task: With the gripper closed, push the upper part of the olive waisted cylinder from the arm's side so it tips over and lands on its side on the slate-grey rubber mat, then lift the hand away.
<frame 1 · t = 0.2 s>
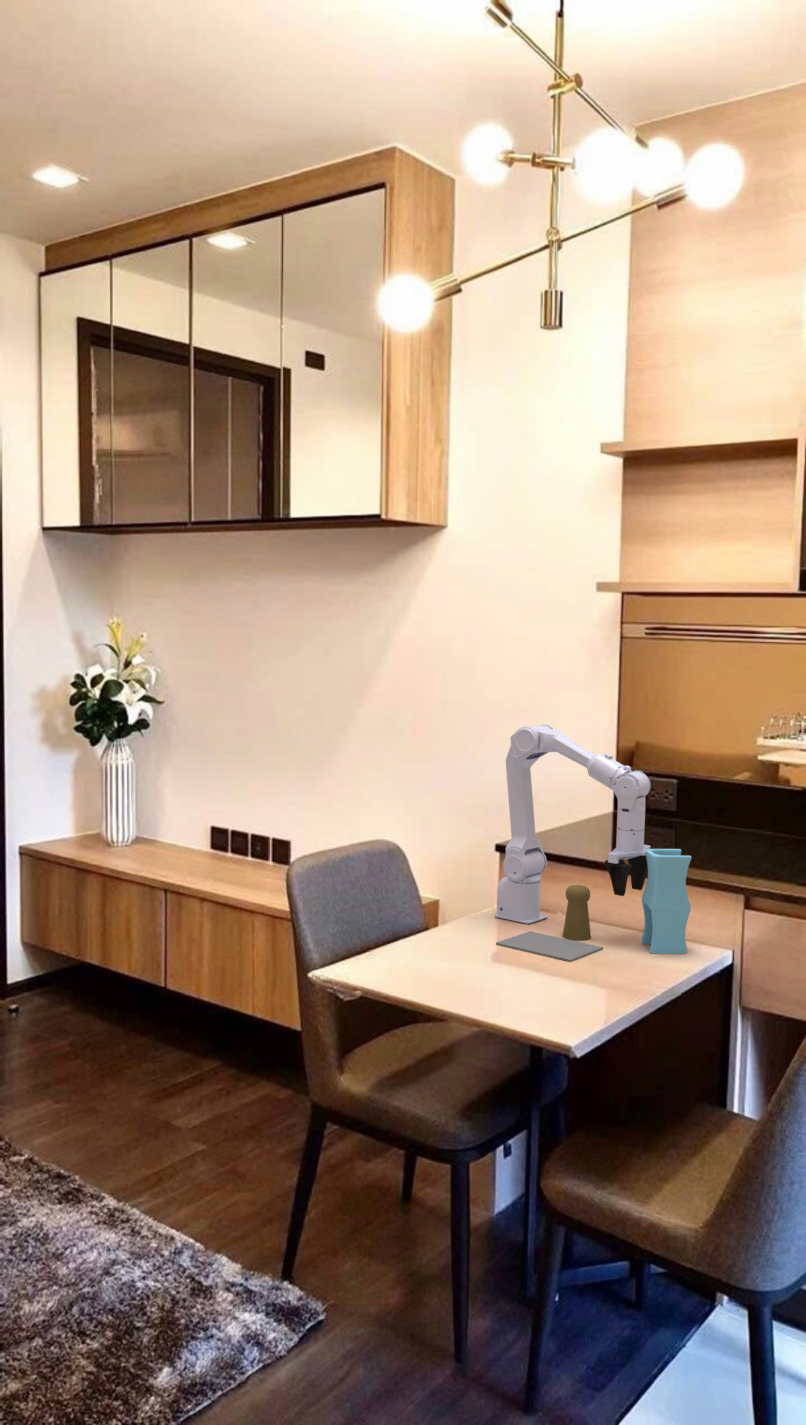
hand: (628, 892, 231), 10 cm above the table, fingers open, 7 cm apart
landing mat: (549, 946, 224), on the table
olive waisted cylinder: (576, 937, 232), on the table
vase: (664, 949, 225), on the table
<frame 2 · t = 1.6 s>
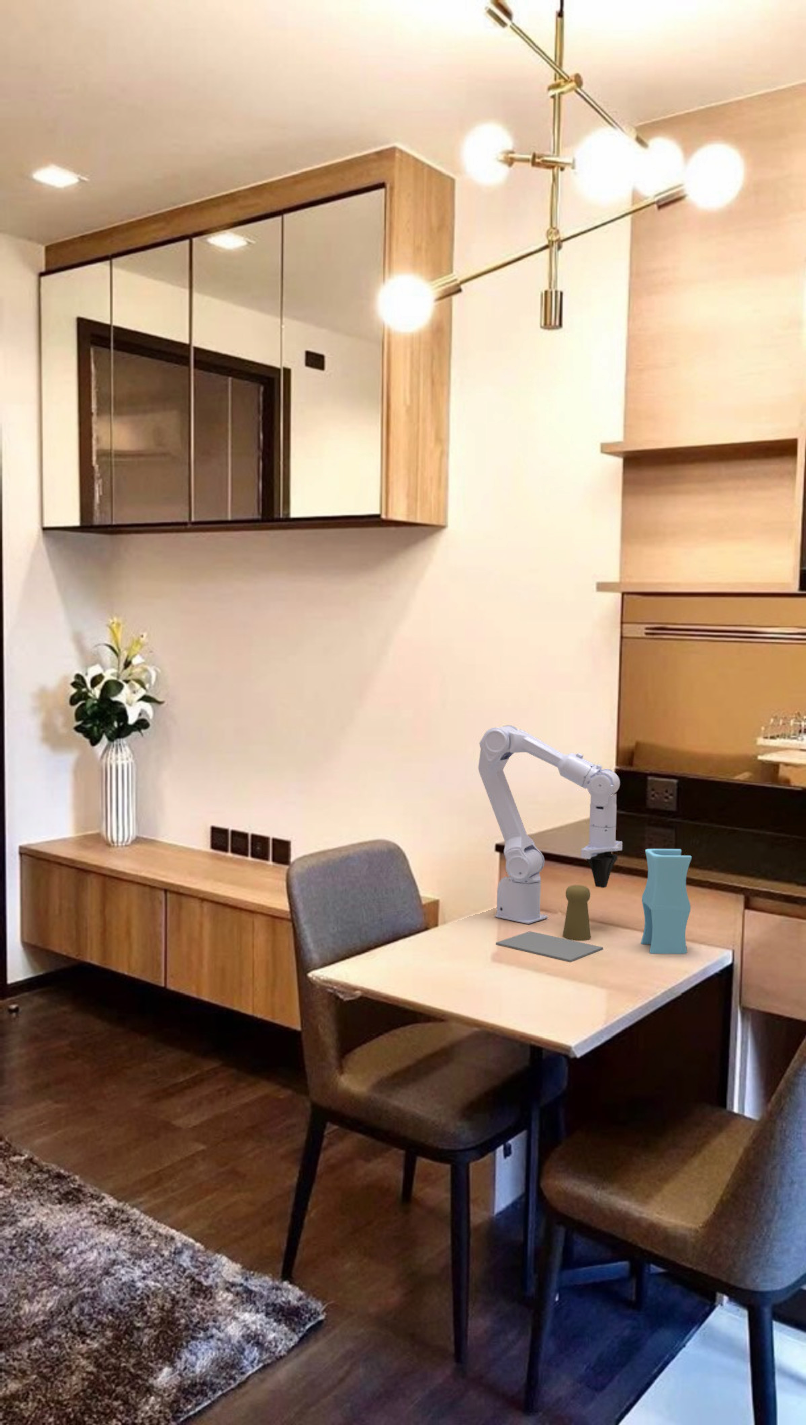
hand: (600, 886, 239), 9 cm above the table, fingers closed
nothing on the table moved.
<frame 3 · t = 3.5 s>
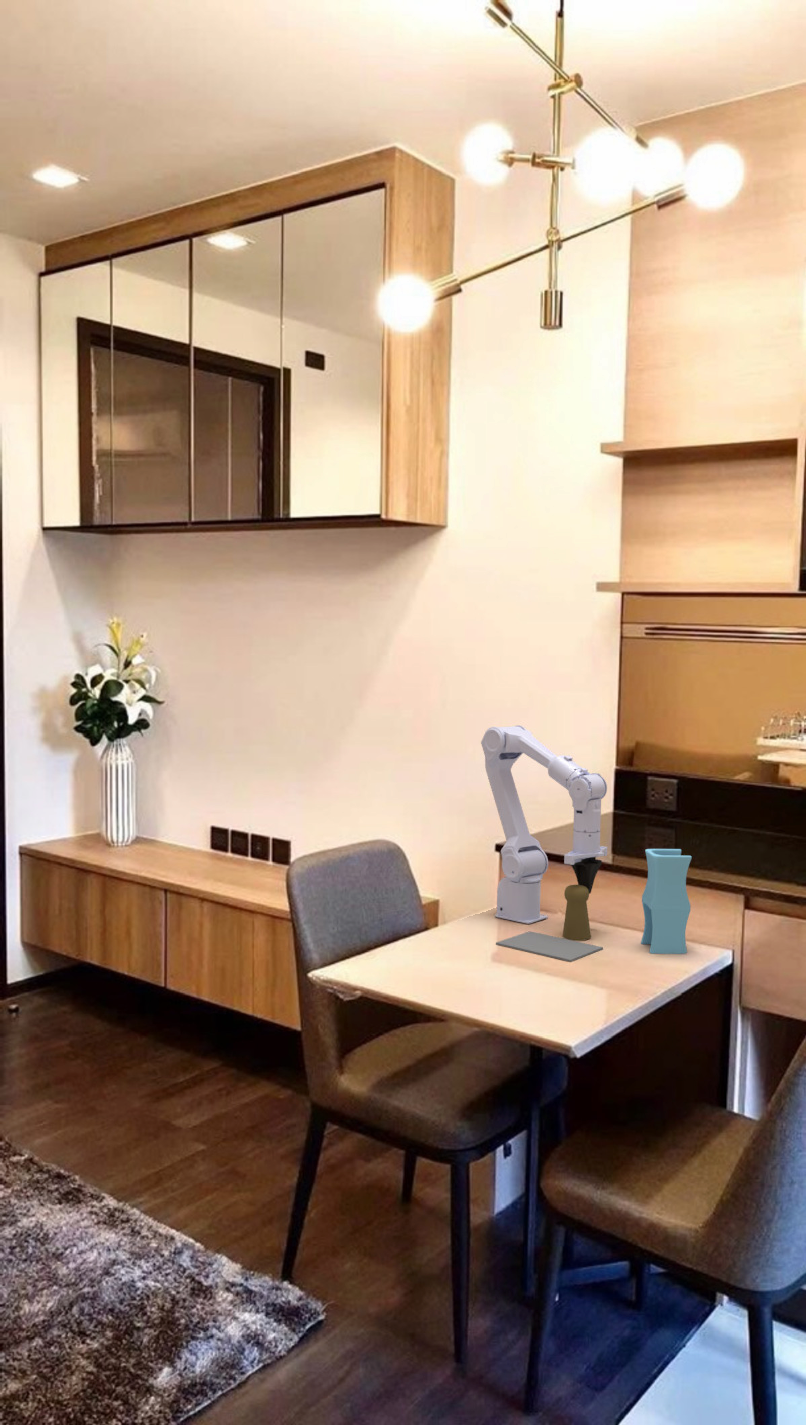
hand: (585, 893, 234), 9 cm above the table, fingers closed
olive waisted cylinder: (576, 937, 232), on the table, touching gripper
everything else where it was.
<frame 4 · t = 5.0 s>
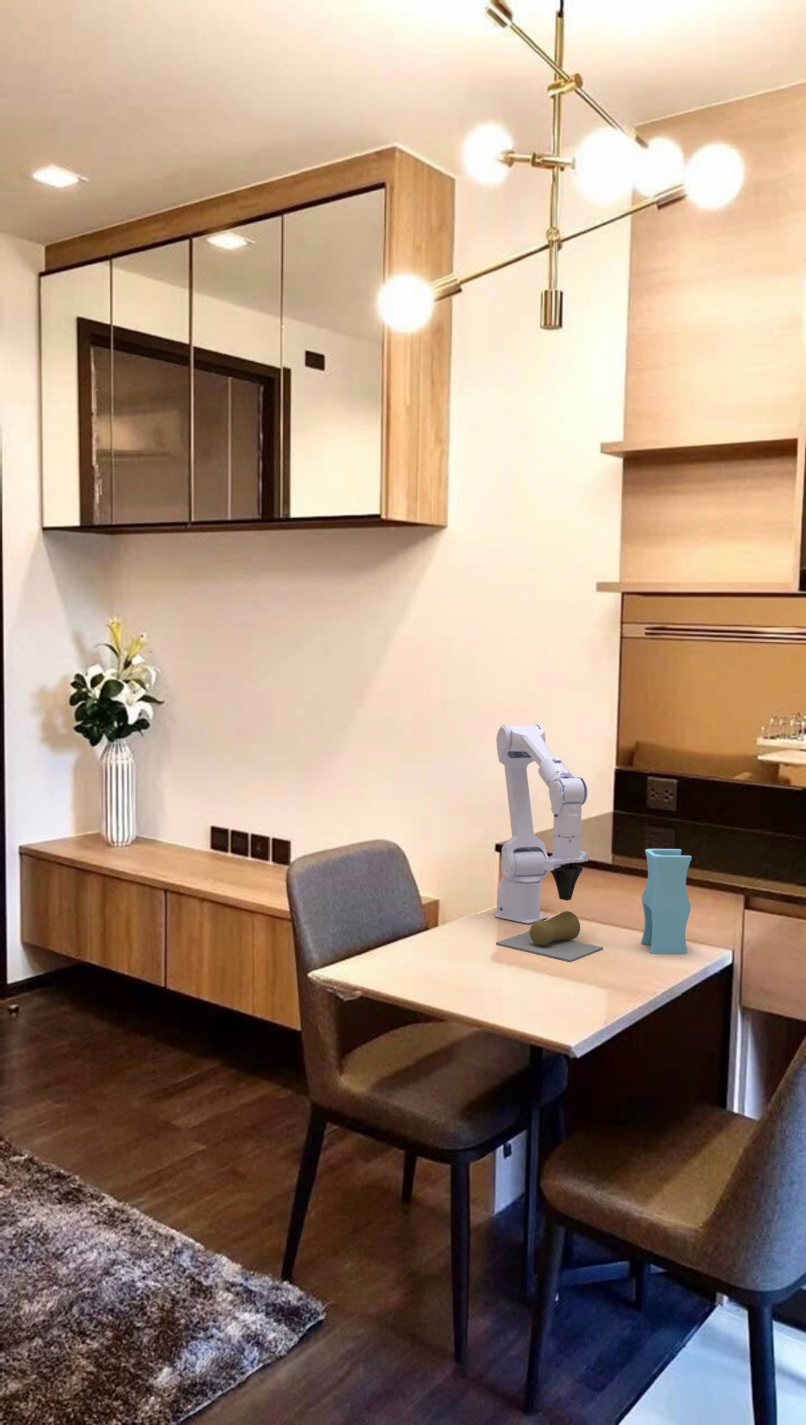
hand: (565, 899, 228), 9 cm above the table, fingers closed
olive waisted cylinder: (569, 925, 230), point 3 cm above the table, touching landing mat
everything else where it was.
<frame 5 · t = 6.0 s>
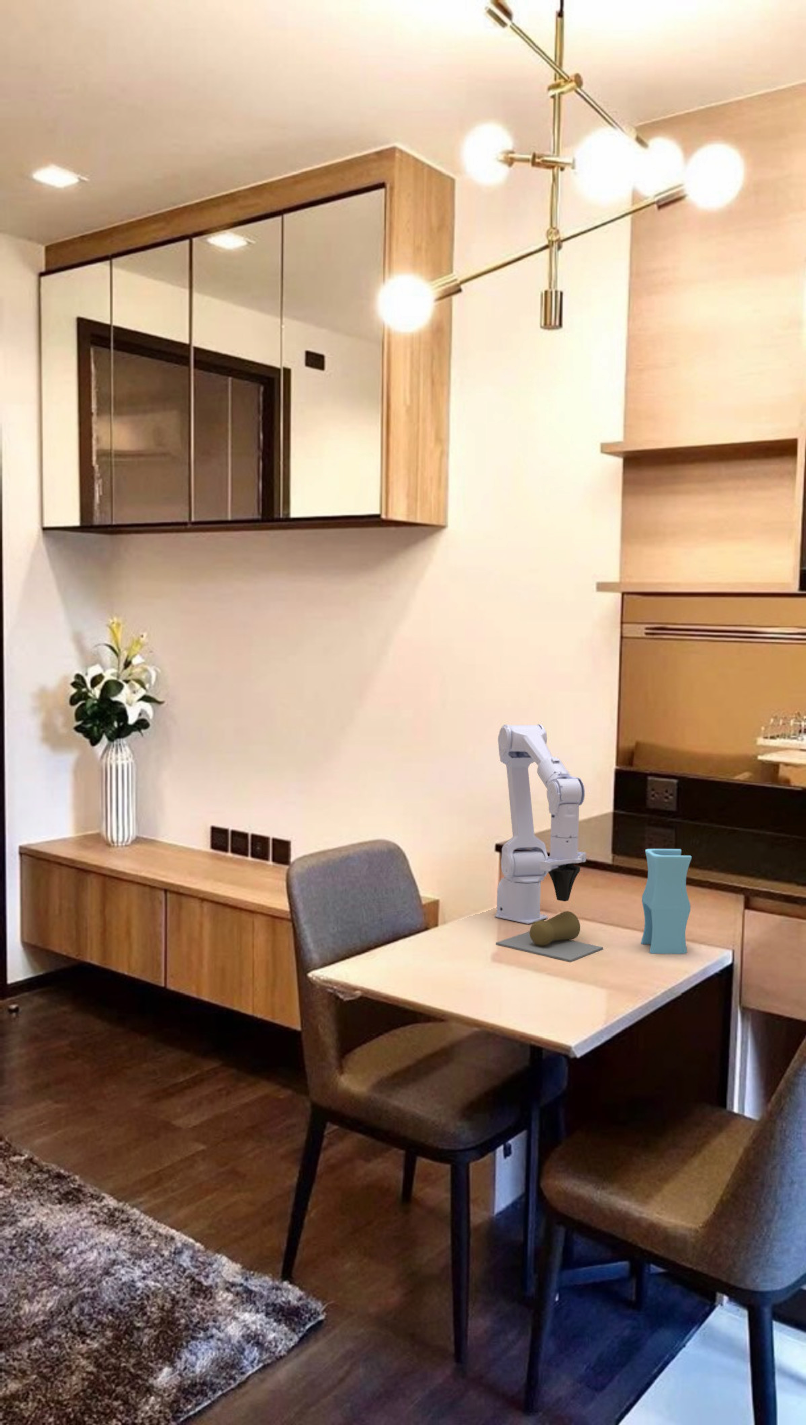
hand: (562, 900, 227), 9 cm above the table, fingers closed
nothing on the table moved.
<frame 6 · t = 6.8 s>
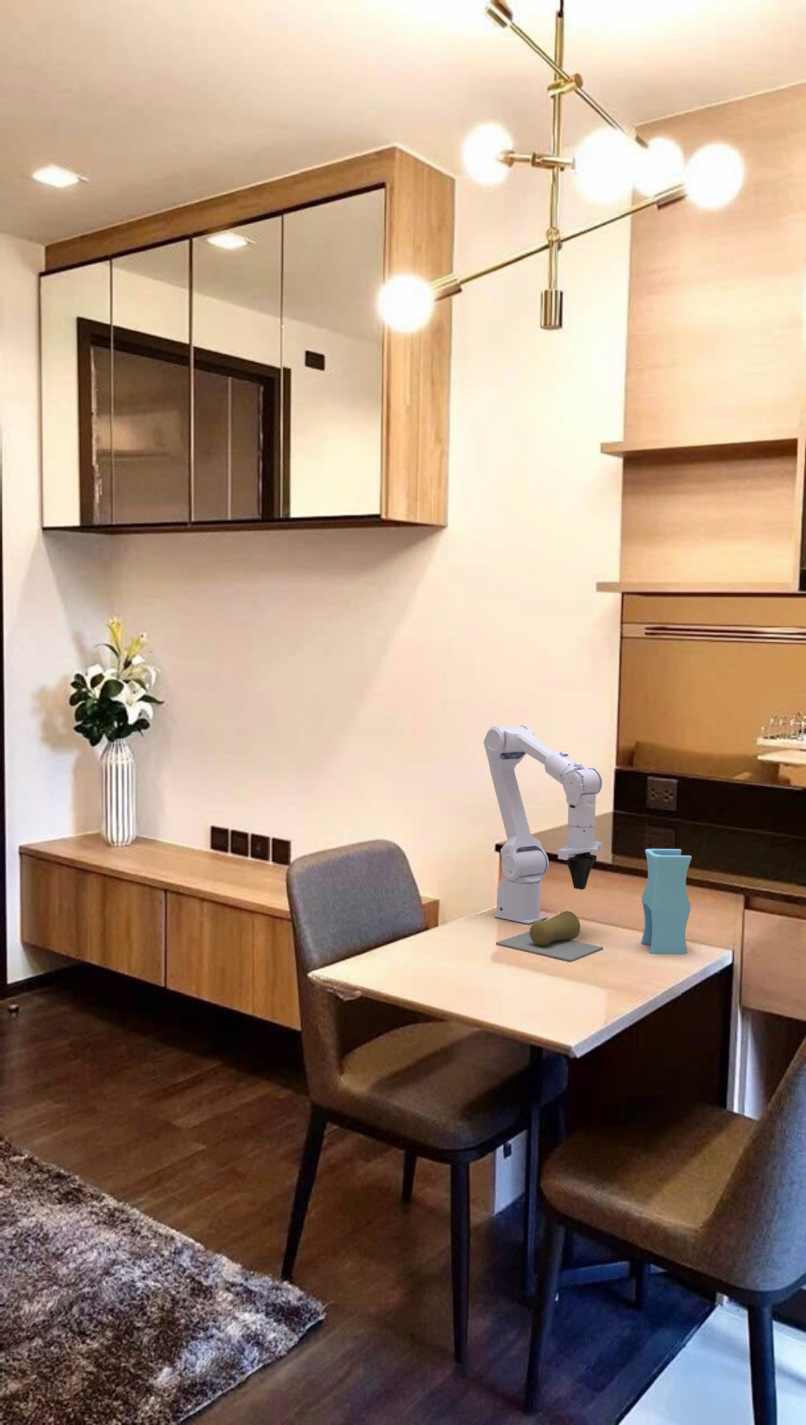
hand: (579, 888, 232), 10 cm above the table, fingers closed
nothing on the table moved.
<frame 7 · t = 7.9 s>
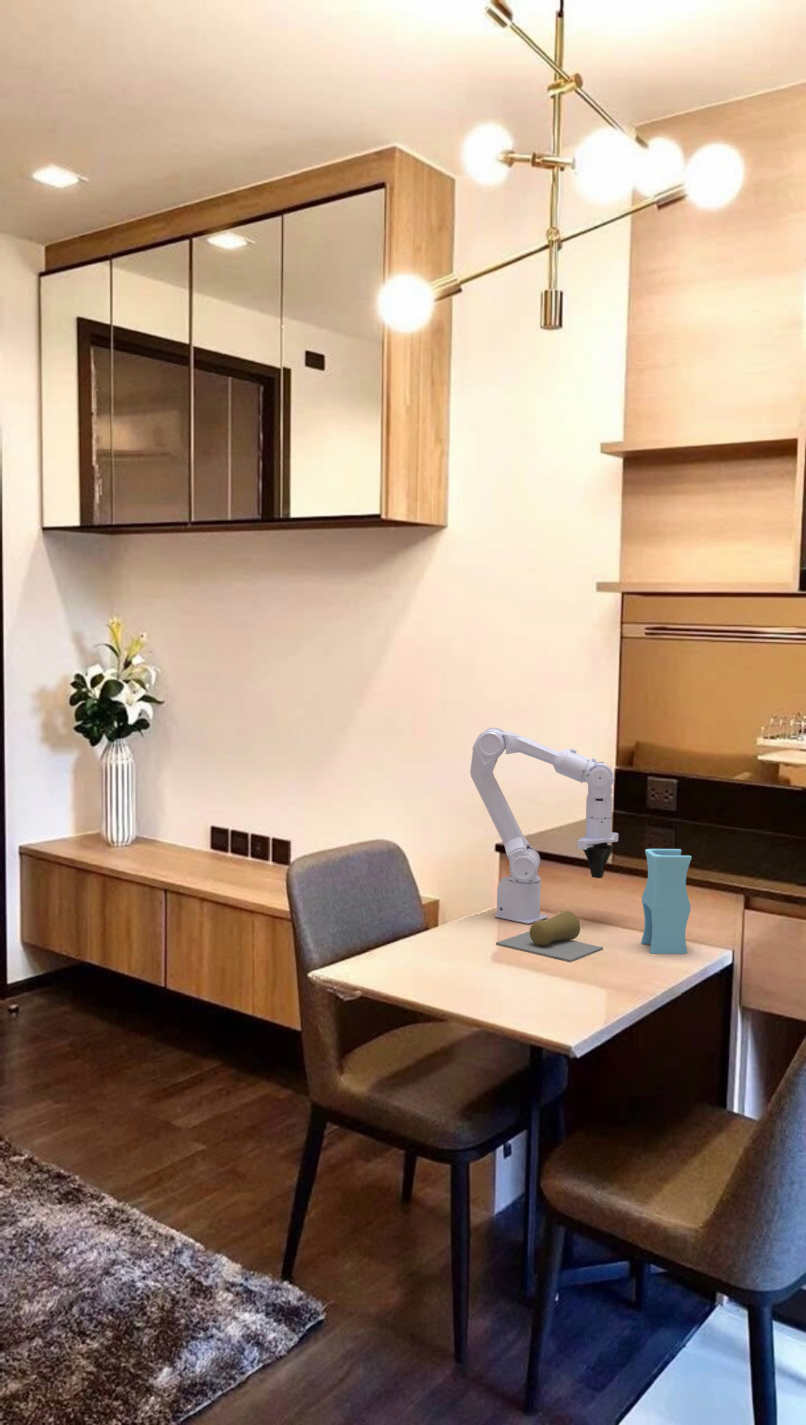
hand: (597, 877, 244), 10 cm above the table, fingers closed
nothing on the table moved.
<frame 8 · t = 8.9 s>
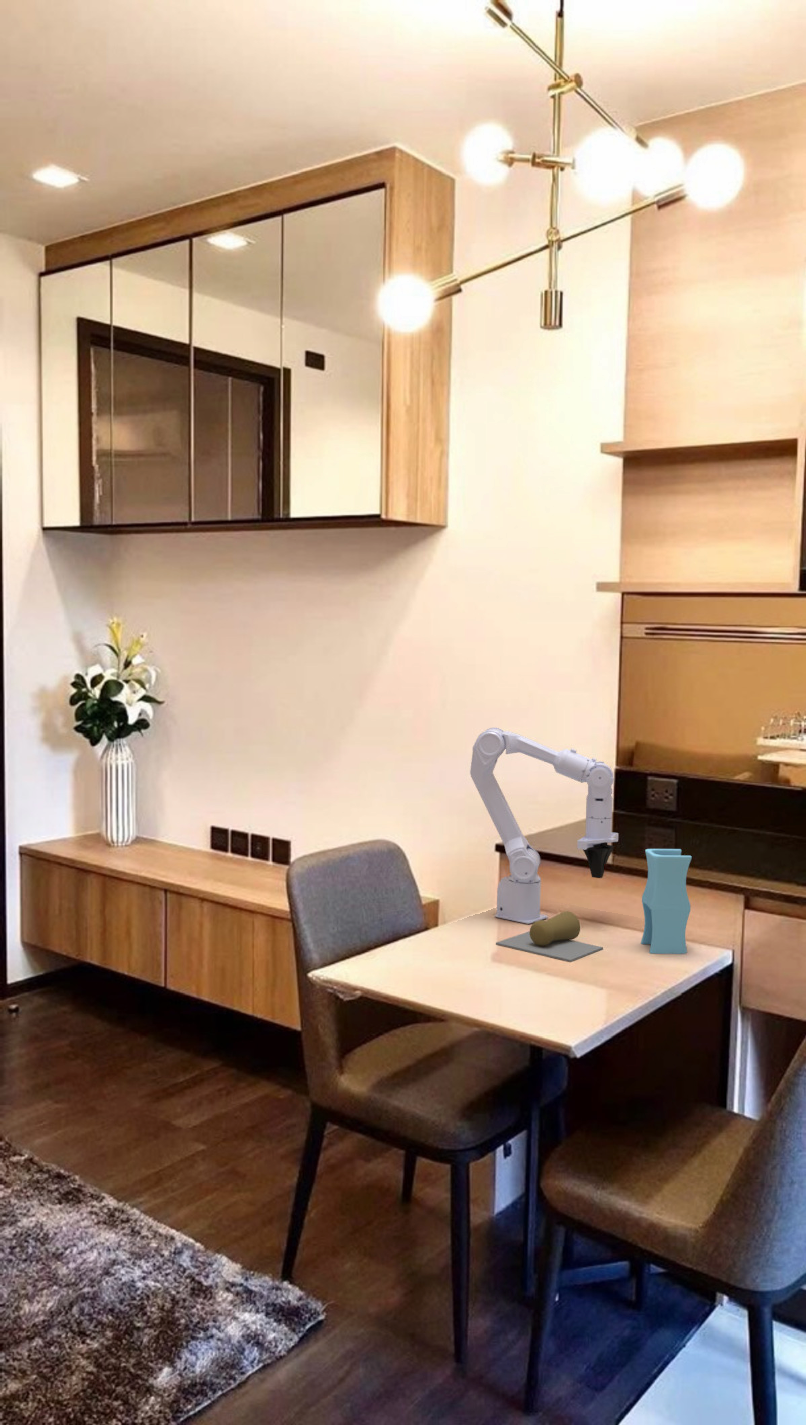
hand: (597, 877, 244), 10 cm above the table, fingers closed
nothing on the table moved.
at the end: olive waisted cylinder tilted 90°; olive waisted cylinder touching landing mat, table; olive waisted cylinder inside the target area on the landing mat (6.9 cm from its centre), point 3.0 cm above the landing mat's base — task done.
